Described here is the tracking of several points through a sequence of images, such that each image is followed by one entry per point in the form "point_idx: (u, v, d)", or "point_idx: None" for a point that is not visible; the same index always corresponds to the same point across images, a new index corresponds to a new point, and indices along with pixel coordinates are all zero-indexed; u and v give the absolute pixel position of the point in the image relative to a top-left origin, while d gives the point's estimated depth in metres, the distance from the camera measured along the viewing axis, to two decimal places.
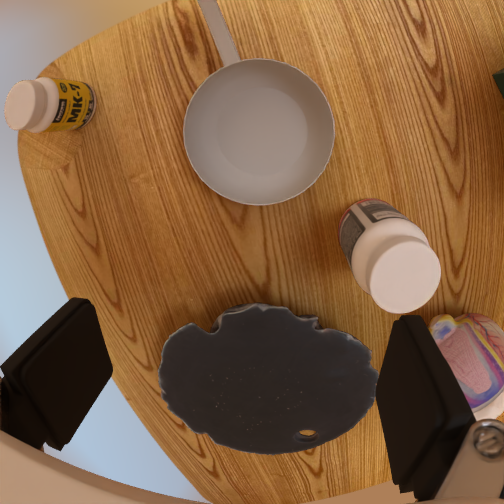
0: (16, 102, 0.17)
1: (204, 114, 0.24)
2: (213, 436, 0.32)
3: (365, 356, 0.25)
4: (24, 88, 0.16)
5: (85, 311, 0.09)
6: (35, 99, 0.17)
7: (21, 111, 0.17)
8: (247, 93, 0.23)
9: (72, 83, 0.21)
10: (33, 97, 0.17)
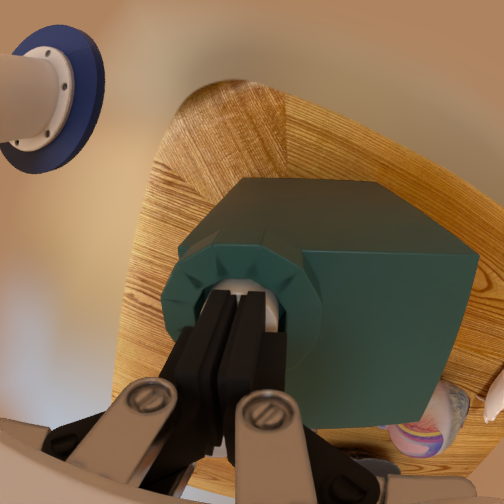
0: None
1: None
2: None
3: None
4: None
5: None
6: None
7: None
8: None
9: None
10: None
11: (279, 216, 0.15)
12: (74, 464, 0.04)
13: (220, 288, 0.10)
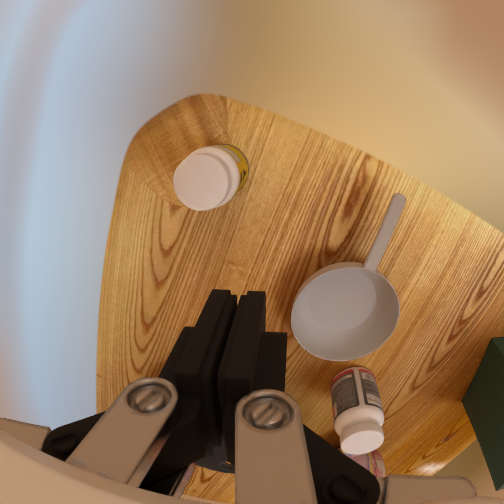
0: (197, 176, 0.21)
1: None
2: None
3: None
4: (216, 173, 0.21)
5: None
6: (223, 199, 0.22)
7: (199, 193, 0.22)
8: (355, 273, 0.31)
9: (244, 168, 0.26)
10: (223, 196, 0.21)
11: None
12: (74, 464, 0.04)
13: None
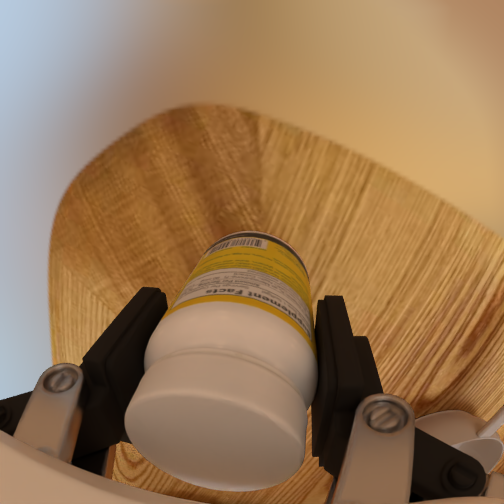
0: (202, 442, 0.06)
1: None
2: None
3: None
4: (269, 445, 0.05)
5: (159, 300, 0.09)
6: (282, 480, 0.06)
7: (211, 468, 0.06)
8: None
9: None
10: (284, 480, 0.06)
11: None
12: None
13: None
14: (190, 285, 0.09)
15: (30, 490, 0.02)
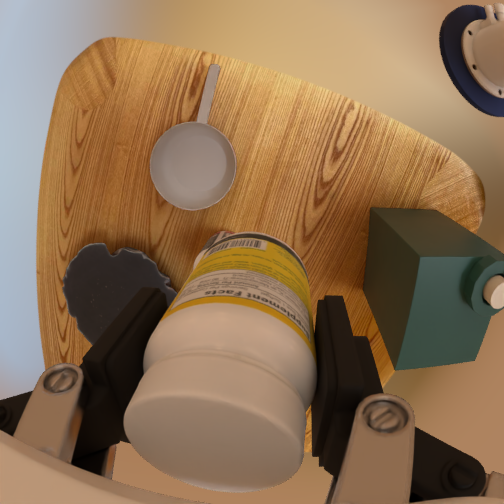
0: (202, 443, 0.06)
1: (174, 136, 0.38)
2: (78, 322, 0.46)
3: None
4: (267, 446, 0.05)
5: (159, 299, 0.09)
6: (281, 481, 0.06)
7: (210, 469, 0.06)
8: (204, 138, 0.38)
9: (312, 317, 0.10)
10: (283, 481, 0.06)
11: None
12: None
13: None
14: (189, 286, 0.09)
15: (30, 490, 0.02)
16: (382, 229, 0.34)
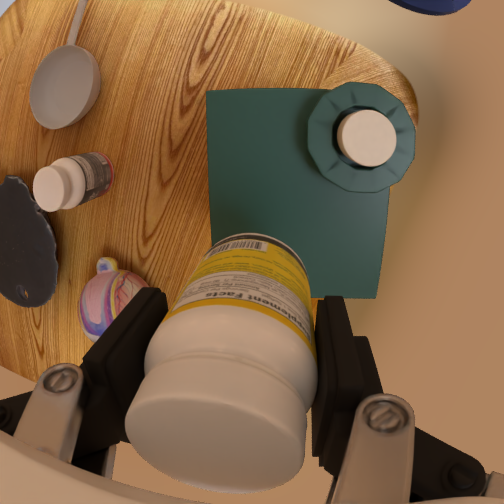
0: (203, 445, 0.06)
1: (56, 65, 0.30)
2: None
3: (53, 246, 0.35)
4: (268, 448, 0.05)
5: (159, 299, 0.09)
6: (282, 482, 0.06)
7: (211, 471, 0.06)
8: (79, 63, 0.30)
9: None
10: (284, 482, 0.06)
11: None
12: None
13: None
14: (190, 288, 0.09)
15: (30, 490, 0.02)
16: None
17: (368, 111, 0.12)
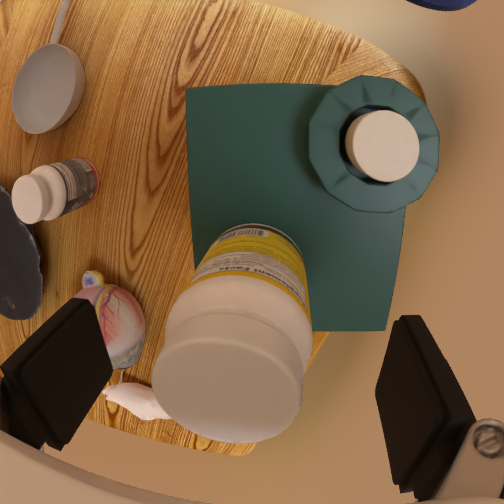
0: (218, 389, 0.07)
1: (40, 66, 0.27)
2: None
3: (37, 258, 0.32)
4: (272, 388, 0.07)
5: (85, 311, 0.09)
6: (284, 429, 0.08)
7: (223, 417, 0.08)
8: (64, 63, 0.28)
9: None
10: (285, 427, 0.08)
11: None
12: None
13: None
14: (204, 266, 0.11)
15: (30, 490, 0.02)
16: None
17: (385, 112, 0.10)
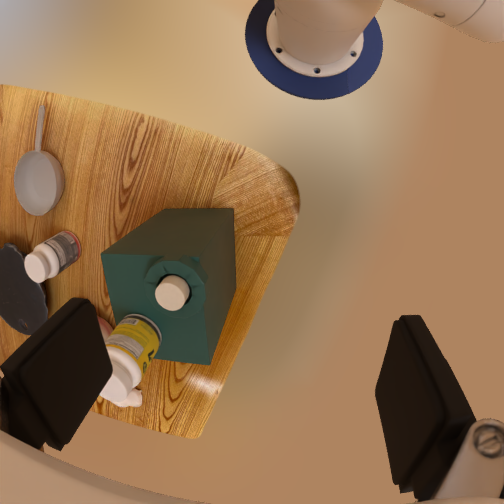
0: None
1: (31, 160, 0.43)
2: None
3: (43, 297, 0.47)
4: (116, 383, 0.23)
5: (85, 311, 0.09)
6: None
7: (107, 391, 0.23)
8: (47, 160, 0.43)
9: (150, 350, 0.27)
10: (125, 397, 0.23)
11: (213, 273, 0.32)
12: None
13: (183, 288, 0.26)
14: (107, 338, 0.26)
15: (30, 490, 0.02)
16: None
17: (166, 283, 0.25)
